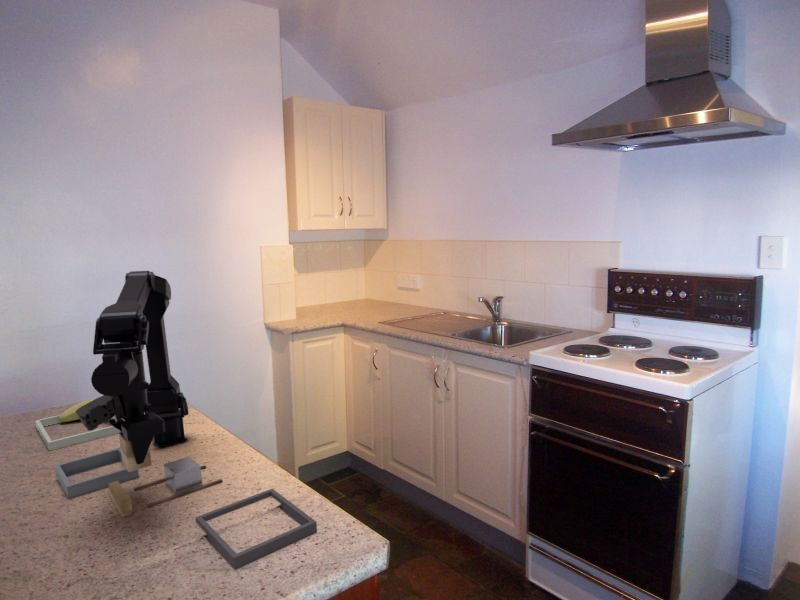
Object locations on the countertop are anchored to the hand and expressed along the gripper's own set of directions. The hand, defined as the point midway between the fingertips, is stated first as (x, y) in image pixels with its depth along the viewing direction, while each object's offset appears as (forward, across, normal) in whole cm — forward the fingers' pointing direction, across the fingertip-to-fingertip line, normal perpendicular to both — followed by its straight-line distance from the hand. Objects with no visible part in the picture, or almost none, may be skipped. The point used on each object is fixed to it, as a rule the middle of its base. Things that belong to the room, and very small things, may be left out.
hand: (136, 459), depth 103 cm
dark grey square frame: (+9, +23, +12) cm, 27 cm away
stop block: (+1, 0, 0) cm, 1 cm away
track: (+9, 0, +4) cm, 10 cm away
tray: (+9, -16, -4) cm, 19 cm away
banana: (+9, -51, +4) cm, 52 cm away
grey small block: (+8, 0, +8) cm, 11 cm away
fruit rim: (+9, -51, +4) cm, 52 cm away
